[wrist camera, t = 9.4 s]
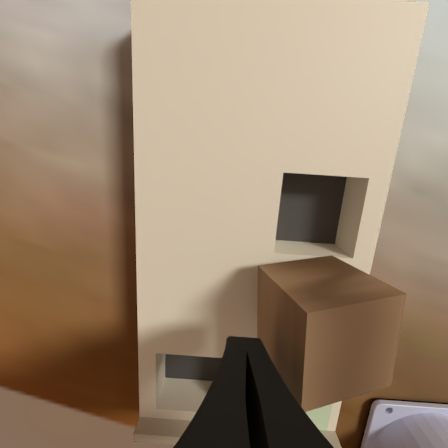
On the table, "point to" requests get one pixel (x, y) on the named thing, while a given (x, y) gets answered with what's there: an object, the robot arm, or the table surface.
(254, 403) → the robot arm
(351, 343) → the block
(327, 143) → the beige flat block
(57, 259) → the table surface
